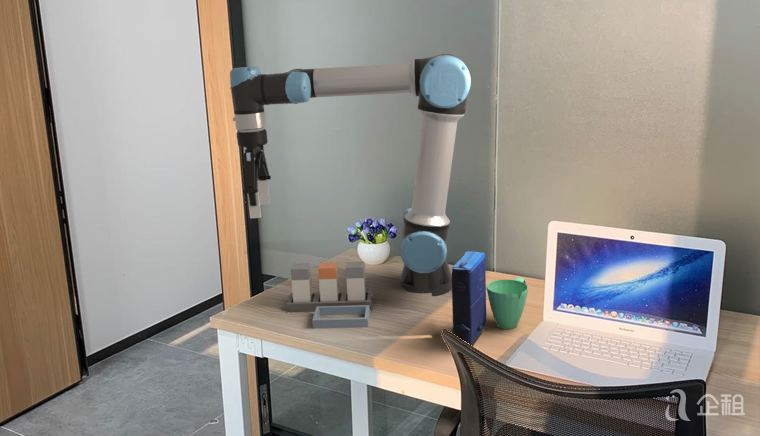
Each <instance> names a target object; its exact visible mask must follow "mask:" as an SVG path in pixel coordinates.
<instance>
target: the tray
mask: <svg viewBox="0 0 760 436" xmlns="http://www.w3.org/2000/svg"><path fill="white" fill-rule="evenodd" d="M370 311H371V310H370V308H369V305H353V306H318V307H316V310H315V312H313V317H312V320H311V323H312V329H340V328H343V329H344V328H368V327H369V322H370ZM345 315H347V316H348V315H349V316H350V315H364V317H344V318H343V317H341V318H339V317H337V318H335V317H334V318H333V317H332V318H320V317H321V316H345Z"/></svg>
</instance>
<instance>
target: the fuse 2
mask: <svg viewBox="0 0 760 436" xmlns="http://www.w3.org/2000/svg"><path fill="white" fill-rule="evenodd" d="M365 273H366V271H365V261H347V262H346V266H345V275H346V276H345V277H346V279H345V280H346V292H347V295H348V301H365V300H366V291H367V290H366V274H365Z"/></svg>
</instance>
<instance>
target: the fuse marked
mask: <svg viewBox="0 0 760 436" xmlns="http://www.w3.org/2000/svg"><path fill="white" fill-rule="evenodd" d="M317 271H318V274H317V275H318V285H319V292H320V301H321V302H331V301H340V300H339V292H340V289H339V286H340V285H339V274H338V272H339V270H338V262H335V261H334V262H320V263H319V266H318V268H317Z"/></svg>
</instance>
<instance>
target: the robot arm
mask: <svg viewBox="0 0 760 436" xmlns="http://www.w3.org/2000/svg"><path fill="white" fill-rule="evenodd" d="M471 77H472V76H471V74H470V71H469V68H468V67H467V66H466V63H464V61H462V59H460V58H459V57H458V56H455V55H453V54H450V53H449V54H448V53H442V54H438V55H434V56H430V57H423V58H414V59H412V60H411V61H410V62H408V63H391V64H377V65H375V64H374V65H373V64H371V65H355V66H335V67H323V68H321V67H319V68H306V69H305V68H304V69H303V68H293V69H291V70H288V71H286V72H280V73H269V74H268V73H267V74H266V73H261V70H260V67H258V66H243V67H234V68H232V69H231V70H230V71H229V81H230V87H229V88H230V92H231V100H232V106H233V108H232V109H233V113H234V117H232V121H233V122H235V129H236V130H237V132H236V140H237V145H238V147H240V148H245V149H246V152H244V153H243V155H242V156H243V169H244V176H243V178H244V183H243V184H244V189H243V194H246V195H247V204H248V212H249V218H250V219H261V218H262V212H261V211H262V210H261V206H266V205H267V206H268V205H271V203H272V202H271V195H270V186H269V185H270V184H269V180H272V179H271V175H270V173H269V168H268V163H267V159H266V154H265V150H264V148H265V147H264V146H265V145H267V144H268V141H269V140H268V133H267V132H268V131H267V130H266V127H267V122H266V114H265V106H271V105H288V104H294V105H297V104H301V103H307V102H309V101H310V99H313V98H329V97H330V98H331V97H334V98H335V97H350V96H351V97H352V96H353V97H354V96H370V95H371V96H373V95H374V96H375V95H394V94H397V95H398V94H412V95H413V97H418V100H417V101H418V102H417V111H418V112H419V113H420V115H421V117H422V119H421V120H422V121H421V129H420V136H419V137H420V139H419V143H418V144H419V145H418V146H419V147H418V154H417V160H416V161H417V162H416V169H415V170H416V171H415V176H414V177H415V179H414V186H413V194H412V201H411V207H408V208H406V209H405V210H404V211H403V217H402V220H403V228H402V229H403V230H402V237H401V243H400V246H399V253H400V258H401V261H402V262H403V267H402V271H401V273H400V274H401V275H400V278H399V286H400V288H401V289H403V291H407V292H411V293H416V294H431V296H439V295H442V294H446V293H448V292H450V291H452V270H451V269H450V267H449V264H448V260H447V255H448V250H447V249H448V248H447V246H448V238H449V232H450V231H449V230H450V222H451V221H450V219H449V217H448V216H447V214H446V209H447V203H448V202H447V201H448V196H449V195H448V193H449V189H450V188H449V187H450V179H451V173H452V163H453V158H454V151H455V143H456V135H457V128H458V122H459V120H460V119H462V118H463V117H464V116H465V114H466V109H467V108H466V107H467V102H468V94H469V92H470V89H471V84H472V80H471V79H472V78H471Z"/></svg>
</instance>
